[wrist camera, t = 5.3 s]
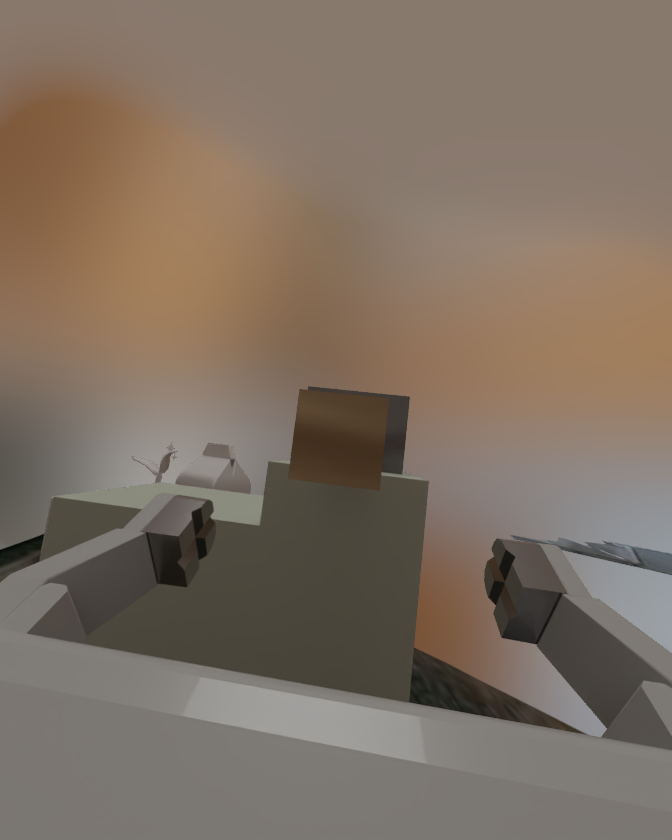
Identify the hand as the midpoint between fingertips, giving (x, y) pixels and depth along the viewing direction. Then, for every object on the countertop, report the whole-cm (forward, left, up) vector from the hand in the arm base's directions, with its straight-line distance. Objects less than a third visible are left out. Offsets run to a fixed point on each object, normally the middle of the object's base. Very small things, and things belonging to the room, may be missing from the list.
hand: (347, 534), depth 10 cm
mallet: (+7, +9, +1) cm, 12 cm away
